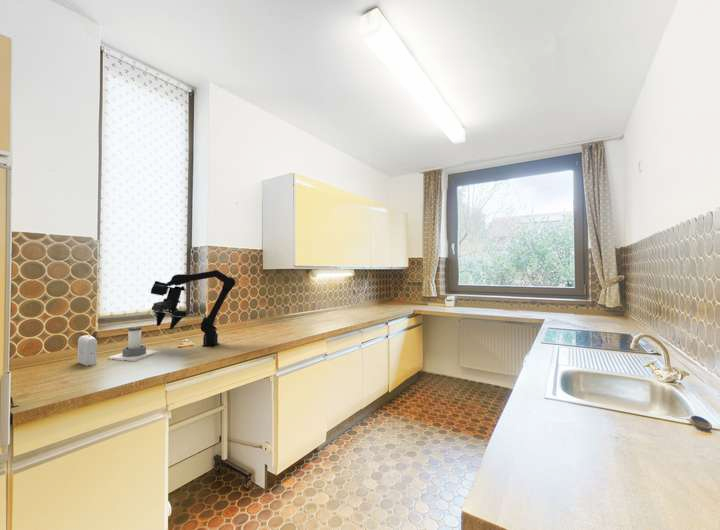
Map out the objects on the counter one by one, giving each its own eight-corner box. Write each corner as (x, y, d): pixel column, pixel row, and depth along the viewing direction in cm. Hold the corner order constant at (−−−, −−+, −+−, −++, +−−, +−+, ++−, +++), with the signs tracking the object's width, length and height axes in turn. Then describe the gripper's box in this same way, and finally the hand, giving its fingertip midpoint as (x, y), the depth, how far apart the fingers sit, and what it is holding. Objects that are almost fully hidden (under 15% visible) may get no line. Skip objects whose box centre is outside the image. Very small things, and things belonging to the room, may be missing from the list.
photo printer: (98, 364, 139) (98, 335, 139) (86, 366, 136) (86, 337, 136) (87, 360, 144) (88, 333, 144) (75, 362, 141) (76, 334, 141)
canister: (144, 352, 154) (144, 326, 154) (134, 355, 149) (134, 328, 149) (134, 352, 155) (135, 326, 155) (125, 354, 150) (125, 328, 150)
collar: (158, 352, 157) (159, 344, 157) (133, 361, 144) (134, 352, 144) (134, 351, 160) (134, 343, 160) (108, 359, 146) (108, 350, 146)
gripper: (146, 292, 162) (136, 323, 159) (172, 298, 156) (163, 330, 153) (165, 295, 172) (156, 324, 170) (191, 301, 166) (182, 331, 163)
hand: (164, 327), depth 164 cm, fingers open, 9 cm apart
